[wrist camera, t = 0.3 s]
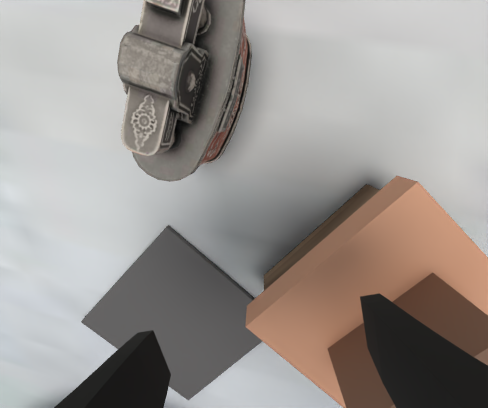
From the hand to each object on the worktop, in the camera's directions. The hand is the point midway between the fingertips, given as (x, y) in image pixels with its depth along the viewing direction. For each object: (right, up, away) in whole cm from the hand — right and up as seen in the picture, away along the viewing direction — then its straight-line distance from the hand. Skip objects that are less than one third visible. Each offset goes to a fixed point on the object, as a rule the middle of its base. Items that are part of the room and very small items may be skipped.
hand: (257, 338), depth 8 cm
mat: (-6, -5, +12) cm, 14 cm away
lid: (+8, -2, +6) cm, 10 cm away
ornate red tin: (-2, +11, +8) cm, 14 cm away
